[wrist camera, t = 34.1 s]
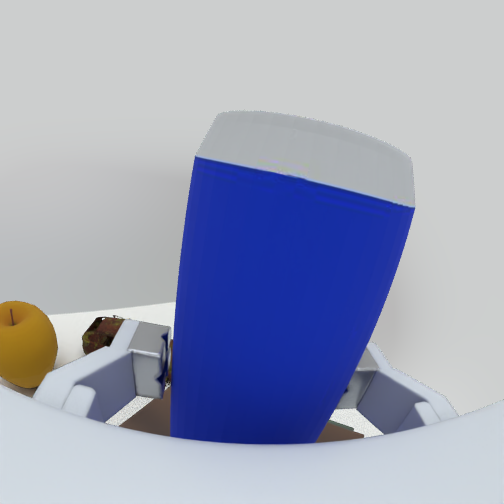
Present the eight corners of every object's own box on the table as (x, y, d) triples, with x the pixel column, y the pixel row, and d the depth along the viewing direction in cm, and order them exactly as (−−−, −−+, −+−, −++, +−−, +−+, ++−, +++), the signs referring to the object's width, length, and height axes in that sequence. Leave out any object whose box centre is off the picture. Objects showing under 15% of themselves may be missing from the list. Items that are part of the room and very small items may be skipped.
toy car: (76, 368, 26) (69, 334, 25) (99, 335, 33) (96, 302, 31) (178, 397, 27) (180, 364, 26) (188, 357, 34) (192, 324, 32)
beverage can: (287, 465, 13) (404, 169, 8) (255, 540, 8) (459, 157, 3) (200, 432, 14) (250, 133, 9) (151, 495, 9) (153, 99, 5)
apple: (-17, 375, 19) (-42, 305, 16) (33, 342, 27) (20, 276, 24) (28, 423, 17) (-3, 351, 14) (81, 376, 25) (69, 307, 23)
